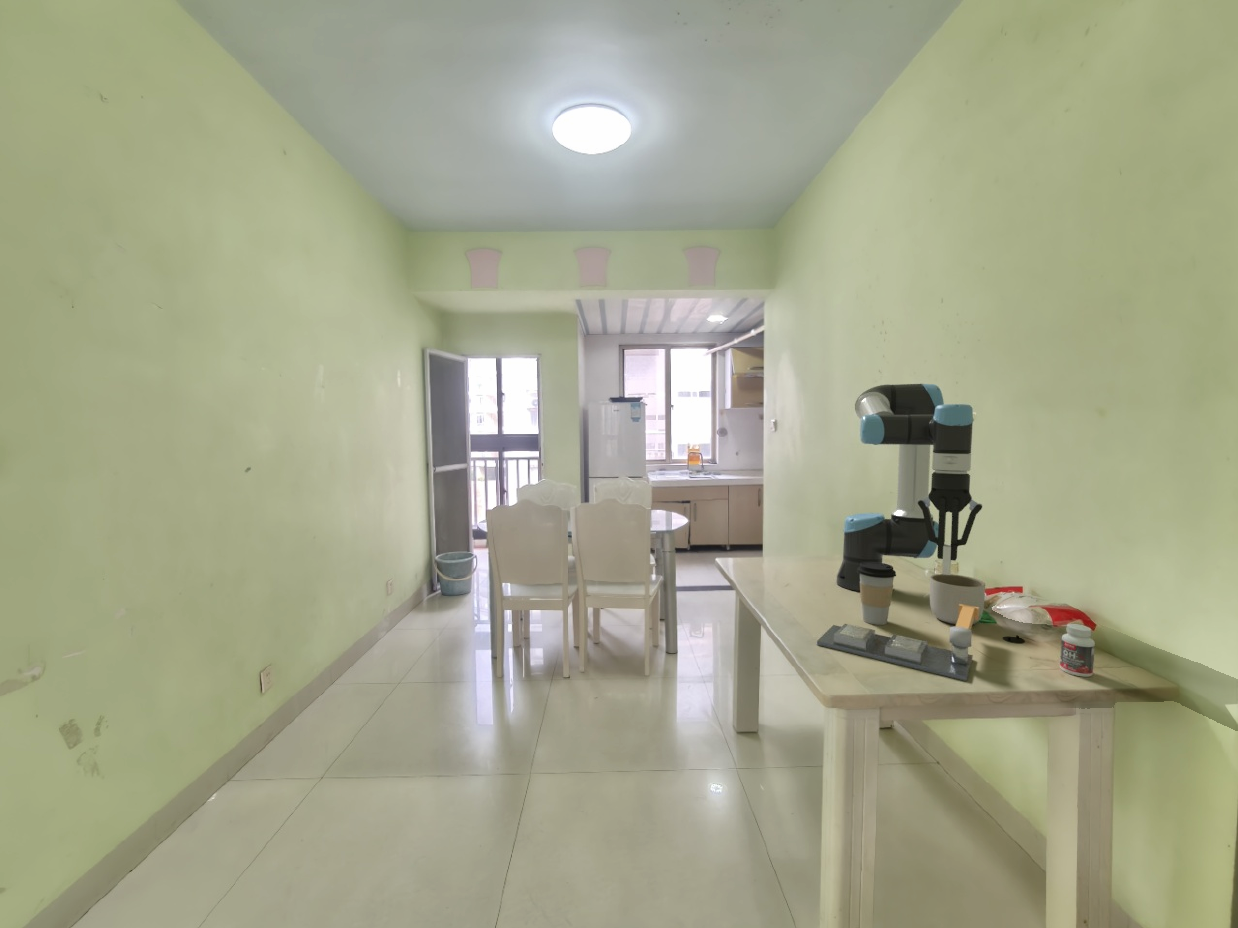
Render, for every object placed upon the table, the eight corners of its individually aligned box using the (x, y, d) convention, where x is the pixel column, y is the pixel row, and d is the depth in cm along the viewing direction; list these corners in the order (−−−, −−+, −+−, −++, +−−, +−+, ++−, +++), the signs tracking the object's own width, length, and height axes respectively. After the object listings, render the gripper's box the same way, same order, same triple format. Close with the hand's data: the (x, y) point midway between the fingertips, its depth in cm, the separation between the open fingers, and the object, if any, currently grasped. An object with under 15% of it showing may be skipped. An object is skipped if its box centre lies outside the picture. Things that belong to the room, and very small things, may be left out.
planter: (954, 630, 139) (956, 588, 138) (918, 613, 151) (919, 575, 150) (995, 626, 141) (997, 585, 140) (956, 610, 153) (958, 572, 153)
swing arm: (970, 648, 115) (971, 634, 115) (948, 644, 118) (949, 630, 117) (978, 618, 133) (978, 606, 133) (958, 615, 135) (959, 603, 135)
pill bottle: (1059, 672, 115) (1062, 627, 115) (1060, 663, 119) (1062, 620, 119) (1093, 680, 112) (1096, 633, 111) (1092, 671, 116) (1095, 626, 115)
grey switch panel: (833, 628, 140) (833, 610, 139) (972, 659, 121) (973, 639, 121) (817, 644, 129) (817, 625, 129) (966, 681, 111) (967, 658, 111)
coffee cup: (898, 628, 140) (901, 571, 139) (859, 625, 142) (861, 569, 141) (888, 616, 149) (890, 562, 148) (851, 613, 151) (853, 560, 150)
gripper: (916, 471, 126) (912, 572, 127) (984, 474, 118) (979, 581, 120) (920, 469, 132) (916, 566, 133) (985, 472, 124) (980, 574, 126)
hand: (946, 573), depth 127 cm, fingers closed
